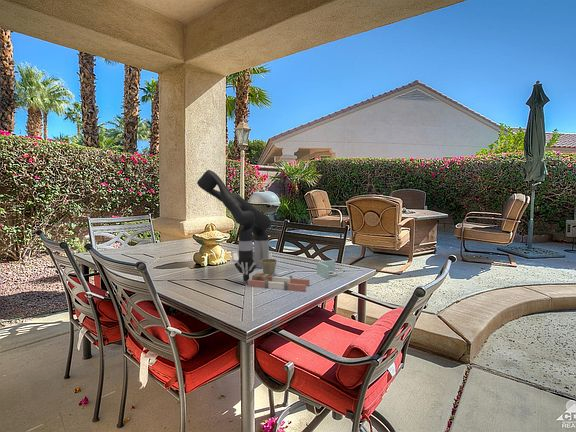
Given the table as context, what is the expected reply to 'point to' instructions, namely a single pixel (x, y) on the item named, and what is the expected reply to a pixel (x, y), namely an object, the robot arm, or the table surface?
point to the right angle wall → (326, 269)
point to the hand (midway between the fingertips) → (246, 280)
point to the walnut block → (260, 277)
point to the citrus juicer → (236, 255)
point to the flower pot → (268, 266)
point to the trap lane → (281, 283)
